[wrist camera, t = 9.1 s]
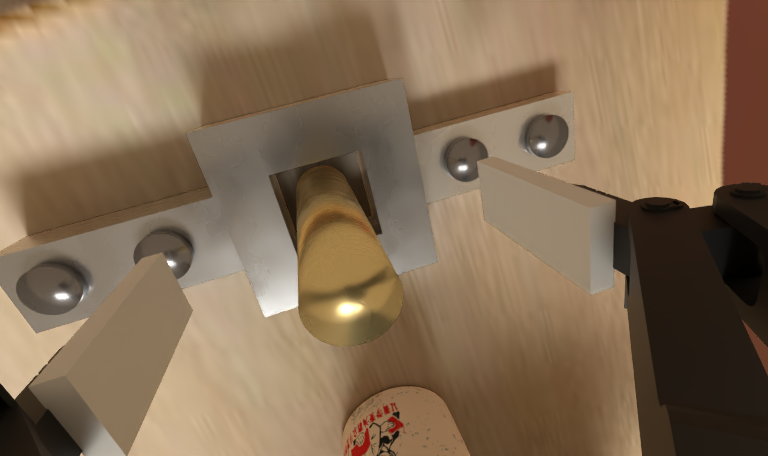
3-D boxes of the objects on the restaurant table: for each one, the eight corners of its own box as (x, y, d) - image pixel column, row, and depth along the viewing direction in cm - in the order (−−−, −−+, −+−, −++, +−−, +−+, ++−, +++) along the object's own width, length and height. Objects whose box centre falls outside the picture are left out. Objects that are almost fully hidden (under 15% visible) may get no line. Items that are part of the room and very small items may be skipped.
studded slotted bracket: (560, 198, 25) (600, 215, 22) (99, 342, 22) (64, 388, 18) (554, 36, 21) (601, 27, 18) (-11, 180, 18) (-80, 202, 15)
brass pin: (354, 207, 22) (411, 327, 11) (305, 222, 22) (315, 359, 11) (341, 159, 21) (391, 240, 10) (289, 173, 21) (283, 273, 10)
